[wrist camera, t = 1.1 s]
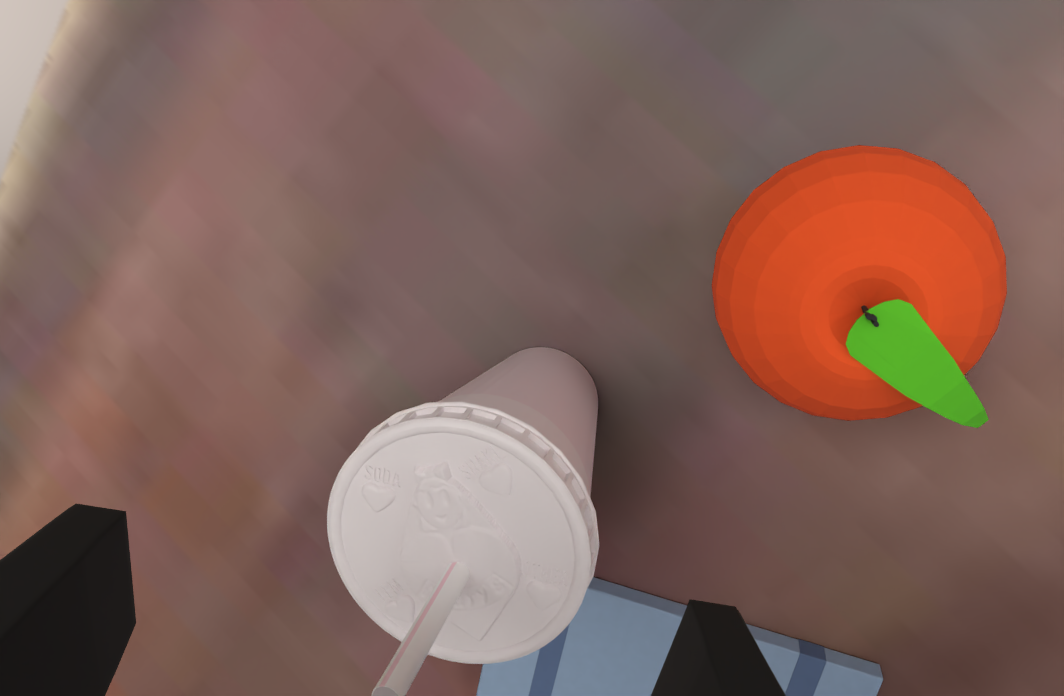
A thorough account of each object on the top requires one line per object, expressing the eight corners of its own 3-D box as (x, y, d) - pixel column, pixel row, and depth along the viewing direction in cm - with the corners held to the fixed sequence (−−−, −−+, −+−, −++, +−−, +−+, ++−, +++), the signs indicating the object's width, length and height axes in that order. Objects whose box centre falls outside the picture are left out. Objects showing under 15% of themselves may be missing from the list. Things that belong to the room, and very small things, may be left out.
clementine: (1047, 283, 23) (1170, 360, 17) (851, 438, 26) (892, 558, 19) (844, 84, 23) (889, 82, 17) (666, 260, 26) (643, 320, 19)
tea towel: (824, 797, 30) (826, 815, 29) (481, 683, 32) (475, 698, 31) (880, 663, 28) (884, 679, 27) (510, 550, 30) (504, 562, 29)
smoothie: (479, 497, 30) (279, 820, 17) (430, 325, 28) (167, 532, 15) (658, 473, 28) (591, 814, 15) (615, 289, 26) (499, 486, 13)
